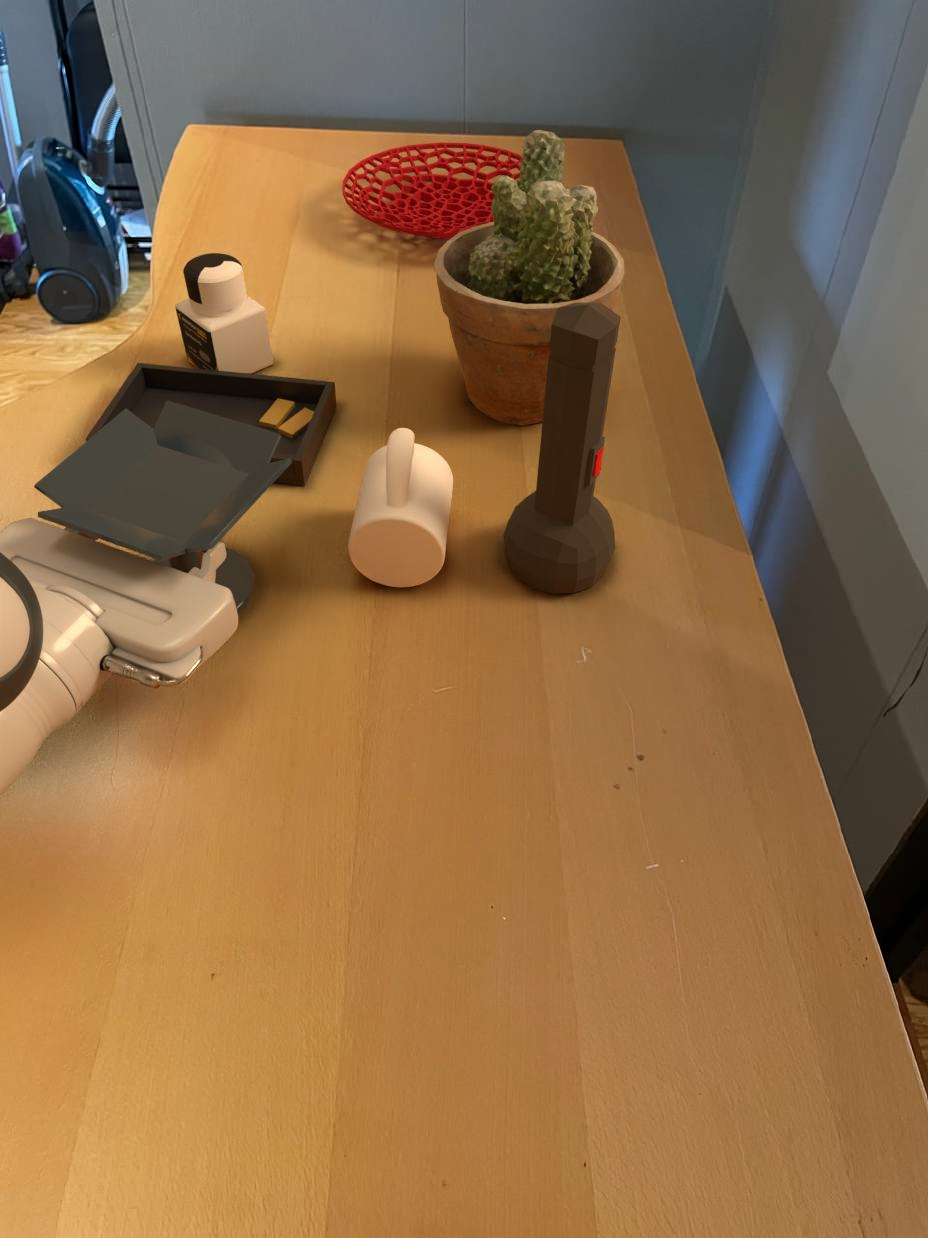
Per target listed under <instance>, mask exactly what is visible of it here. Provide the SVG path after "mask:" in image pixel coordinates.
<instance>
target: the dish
mask: <svg viewBox="0 0 928 1238" xmlns="http://www.w3.org/2000/svg"><path fill="white" fill-rule="evenodd" d="M280 438H281V435H280V434H278V433H275V432H271V431H268V430H265V429H261V428H258V427H254V426H251V425H248V424H244V423H241V422H238V421H234V420H231V419H228V418H224V417H221V416H218V415H214V414H211V413H208V412H204V411H201V410H197V409H194V408H191V407H187V406H184V405H181V404H177V403H174V402H171V401H166V404H165V406H164V408H163V410H162V412H161V414H160V416H159V418H158V420H157V423H156V425H155V427H154V429H152V428H151V427H150V426H149V425H147V424H146V423H145V422H143V421H142V420H141V419H139V418H138V417H137V416H135V415H134V414H133V413H132V412H130V411H129V410H128V409H124V410H123V411H122V412H121V413H120V414H119V415H117V416H116V417H115V418H114V419H113V420H111V421H110V422H109V423H108V424H107V425H105V426H104V427H103V428H102V429H101V430H99V431H98V432H97V433H96V434H95V435H93V436H92V437H91V438H90V439H89V440H87V441H86V440H85V442H83V444H81V445H80V446H79V447H77V449H75V450H74V451H73V452H72V453H70V454H69V455H68V456H67V457H66V458H65V459H63V460H62V461H61V462H60V463H59V464H58V465H56V466H55V467H54V468H52V469H51V470H50V471H49V472H48V473H47V474H46V475H44V476H43V477H42V478H41V479H39V480H38V481H37V482H36V483H35V484H34V486H33V488H34V489H36V490H37V491H38V492H39V493H41V494H42V495H43V496H45V497H46V498H48V499H49V500H50V501H52V502H53V503H54V504H56V505H57V506H59V508H53V509H48V510H42V511H38V512H37V518H40V519H42V520H45V521H48V522H51V523H54V524H57V525H59V526H62V527H64V528H65V527H67V528H70V529H73V530H76V531H79V532H81V533H84V534H87V535H90V536H93V537H96V538H98V539H97V540H102V541H104V542H106V543H110V544H113V545H115V546H119V547H121V548H124V549H127V550H130V551H133V552H136V553H138V554H142V555H144V556H147V557H150V558H152V559H155V560H153V561H154V562H157V563H160V564H162V565H165V566H168V567H171V568H174V569H177V570H179V571H182V572H185V573H188V572H189V571H190V570H191V569H192V568H193V567H196V568H199V570H200V569H201V566H199V562H198V559H199V558H198V557H197V555H196V551H202V550H208V549H213V548H214V546H215V545H216V544H217V543H218V542H221V540H222V539H223V538H224V537H225V536H226V535H227V534H228V532H229V531H230V530H232V528H233V527H234V526H235V525H236V524H237V523H238V522H239V520H241V518H242V517H243V516H244V515H245V514H246V513H247V512H248V511H249V510H250V509H251V508H252V506H253V505H254V504H255V503H256V502H257V501H258V500H259V499H260V498H261V497H262V496H263V495H264V493H265V492H266V491H267V490H268V489H269V488H270V487H271V486H272V485H273V484H274V483H273V482H274V481H275V480H276V479H277V478H278V477H279V476H280V475H281V474H282V473H283V472H284V471H285V469H286V468H287V467H288V466H289V465H290V464H291V463H292V461H291V459H290V458H289V459H285V460H281V461H277V462H273V463H270V460H271V458H272V456H273V454H274V451H275V449H276V447H277V445H278V442H279V440H280ZM225 549H226V553H227V555H226V558H225V560H224V561H223V563H222V564H221V565H220V566H219V567H218V568H217V569H216V577H215V583H216V584H219V585H222V586H224V587H227V588H228V589H230V591H231V592H232V595H233V598H234V601H235V604H236V608H237V614H238V615H239V614H240V613H241V612H242V611H244V610H245V608H246V607H247V605H248V604H249V603H250V602H251V600H252V598H253V595H254V592H255V587H256V578H255V575H254V569H253V567H252V565H251V564H250V562H249V561H248V559H247V558H246V557H244V556H243V554H241V553H240V552H238V551H237V550H234V549H232V548H229V547H227V546H225Z"/></svg>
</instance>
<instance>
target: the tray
mask: <svg viewBox="0 0 928 1238" xmlns="http://www.w3.org/2000/svg"><path fill="white" fill-rule="evenodd" d="M336 392H337V391H336V382H335V381H329V380H319V379H308V378H301V377H300V378H298V377H288V376H279V375H278V376H277V375H269V374H257V373H252V374H248V373H238V372H228V371H217V370H207V369H198V368H196V367H195V368H194V367H186V366H185V367H184V366H175V365H163V364H156V363H155V364H154V363H144V362H136V364H135V366H134V367H133V369H132V370H131V372H130V373H129V375H128V376H127V377H126V378H125V380H124V382H123V384H122V385H121V386H120V388H119V389H118V391H117V392H116V393H115V395H114V396H113V397H112V399H111V400H110V402H109V404H108V405H107V406H106V408H105V409H104V410H103V412H102V414H101V415H100V416H99V418H98V419H97V421H96V422H95V424H94V425H93V427H92V428H91V429H90V431H89V432H88V434H87V435H86V436H85V442H86V441H87V440H89V439H90V438H91V437H92V436H93V435H95V434H96V433H97V432H98V431H99V430H101V429H102V428H103V427H104V426H105V425H107V424H108V423H109V422H110V421H111V420H113V419H114V418H115V417H116V416H117V415H119V414H120V413H121V412H122V411H123V410H124V409H128V410H129V411H130V412H132V413H133V414H134V415H135V416H137V417H138V418H139V419H141V420H142V421H143V422H145V423H146V424H147V425H149V426H150V427H151V428H152V429H154V427H155V425H156V423H157V420H158V418H159V416H160V414H161V412H162V410H163V408H164V406H165V404H166V401H171V402H174V403H177V404H181V405H184V406H187V407H191V408H194V409H197V410H201V411H204V412H208V413H211V414H214V415H218V416H221V417H224V418H228V419H231V420H234V421H238V422H241V423H244V424H248V425H251V426H254V427H258V428H261V429H265V430H268V431H271V432H275V433H278V429H273V428H269V427H264V426H260V424H259V420H260V419H261V418H262V417H263V416H264V414H265V413H266V412H267V411H268V410H269V408H270V407H271V406H272V405H273V404H274V402H275V401H276V400H277V399H278V398H279V399H284V400H288V401H293V402H295V407H294V409H293V410H292V411H291V412H290V414H289V415H288V416H287V417H286V419H285V420H284V421H283V422H282V424H284V423H285V422H286V421H288V420H289V419H290V418H292V417H293V416H294V415H296V414H297V413H298V412H300V411H301V410H302V409H304V408H307V409H309V410H312V411H314V414H313V416H312V418H311V421H310V423H309V425H308V428H307V429H305V430H304V431H303V432H301V433H300V434H299V435H297V436H296V437H295V438H294V439H292V438H289V437H287V436H285V435H283V434H281V433H278V434H280V435H281V438H280V440H279V442H278V445H277V447H276V449H275V451H274V454H273V456H272V458H271V460H270V463H273V462H277V461H281V460H285V459H289V458H290V459H291V461H292V463H291V464H290V465H289V466H288V467H287V468H286V469H285V471H284V472H283V473H282V474H281V475H280V476H279V477H278V478H277V479H276V480H275V481H274V482H273V484H281V485H282V484H283V485H292V486H301V487H302V486H303V487H305V486H306V484H307V482H308V479H309V477H310V474H311V472H312V469H313V466H314V465H315V462H316V459H317V457H318V455H319V452H320V449H321V447H322V445H323V443H324V440H325V437H326V434H327V432H328V430H329V428H330V425H331V422H332V420H333V417H334V415H335V413H336V410H337V408H338V403H337V393H336ZM282 424H281V425H282ZM281 425H280V426H281Z"/></svg>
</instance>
